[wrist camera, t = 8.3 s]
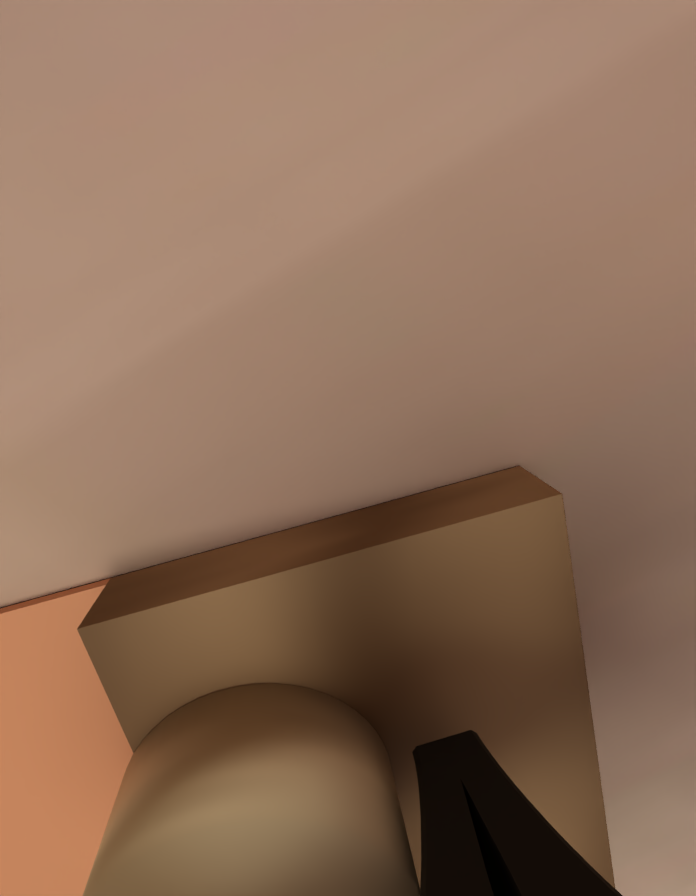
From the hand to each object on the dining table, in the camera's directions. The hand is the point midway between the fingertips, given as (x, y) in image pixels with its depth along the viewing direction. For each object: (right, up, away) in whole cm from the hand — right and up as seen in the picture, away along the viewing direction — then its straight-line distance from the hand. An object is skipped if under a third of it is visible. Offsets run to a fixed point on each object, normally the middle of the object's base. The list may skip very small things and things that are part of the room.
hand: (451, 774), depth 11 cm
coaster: (-4, -1, -1) cm, 4 cm away
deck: (-1, -3, +4) cm, 5 cm away
